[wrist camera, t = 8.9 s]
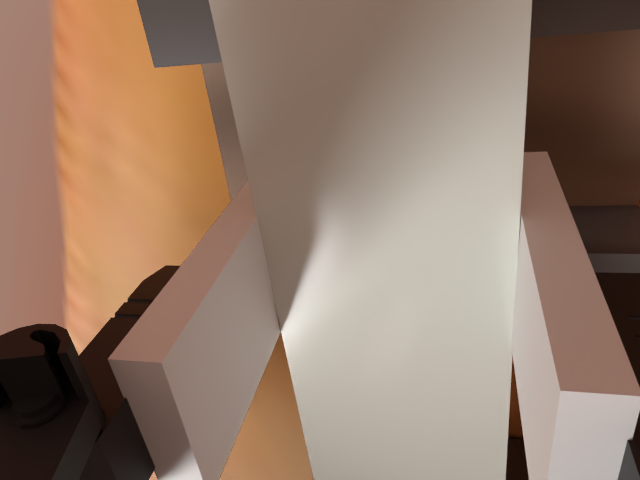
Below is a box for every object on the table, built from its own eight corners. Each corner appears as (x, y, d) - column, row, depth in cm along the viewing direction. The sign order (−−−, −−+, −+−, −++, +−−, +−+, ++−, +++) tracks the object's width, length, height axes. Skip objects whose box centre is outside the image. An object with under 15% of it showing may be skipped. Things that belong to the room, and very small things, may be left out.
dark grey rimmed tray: (615, 266, 19) (649, 338, 16) (254, 260, 23) (220, 319, 19) (688, -129, 14) (766, -145, 10) (188, -59, 17) (123, -53, 14)
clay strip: (491, 420, 16) (501, 549, 13) (348, 410, 18) (323, 526, 14) (514, -271, 9) (554, -391, 5) (253, -210, 10) (147, -277, 6)
